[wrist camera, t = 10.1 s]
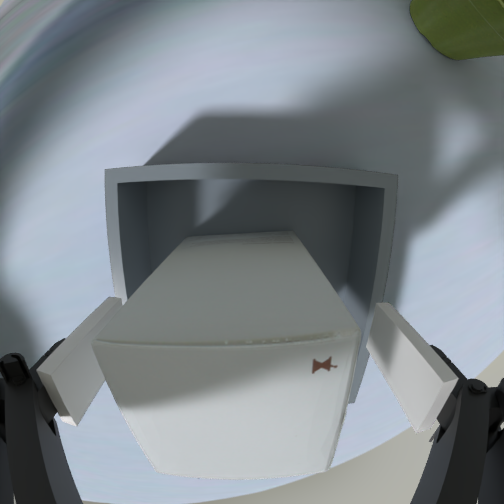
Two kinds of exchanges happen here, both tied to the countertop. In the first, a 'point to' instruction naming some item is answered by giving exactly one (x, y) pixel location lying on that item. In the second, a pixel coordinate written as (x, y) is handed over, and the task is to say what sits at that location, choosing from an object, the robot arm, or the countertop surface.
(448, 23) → the plant pot
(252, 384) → the supplement box
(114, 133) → the countertop surface
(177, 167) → the grey bin
